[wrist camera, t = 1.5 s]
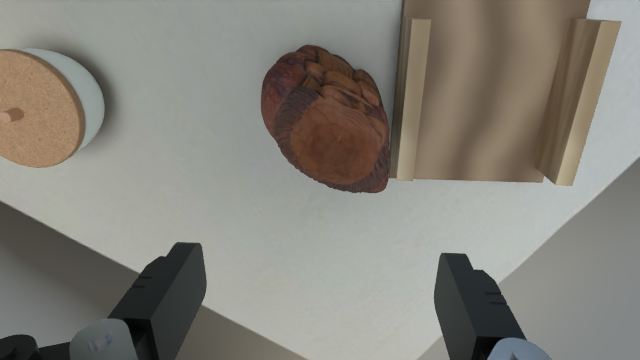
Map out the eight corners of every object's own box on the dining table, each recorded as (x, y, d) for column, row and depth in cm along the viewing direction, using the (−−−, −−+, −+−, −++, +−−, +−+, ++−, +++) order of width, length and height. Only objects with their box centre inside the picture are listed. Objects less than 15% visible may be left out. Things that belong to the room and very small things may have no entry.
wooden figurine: (401, 93, 40) (441, 156, 24) (367, 144, 43) (380, 233, 26) (301, 29, 38) (268, 50, 22) (270, 86, 41) (220, 144, 24)
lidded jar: (59, 152, 45) (-8, 187, 37) (2, 59, 41) (-88, 74, 33) (141, 127, 43) (90, 157, 35) (90, 27, 39) (19, 34, 31)
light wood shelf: (388, 172, 44) (394, 199, 38) (403, -8, 36) (414, -9, 30) (536, 176, 43) (566, 204, 37) (582, -6, 36) (630, -8, 30)
